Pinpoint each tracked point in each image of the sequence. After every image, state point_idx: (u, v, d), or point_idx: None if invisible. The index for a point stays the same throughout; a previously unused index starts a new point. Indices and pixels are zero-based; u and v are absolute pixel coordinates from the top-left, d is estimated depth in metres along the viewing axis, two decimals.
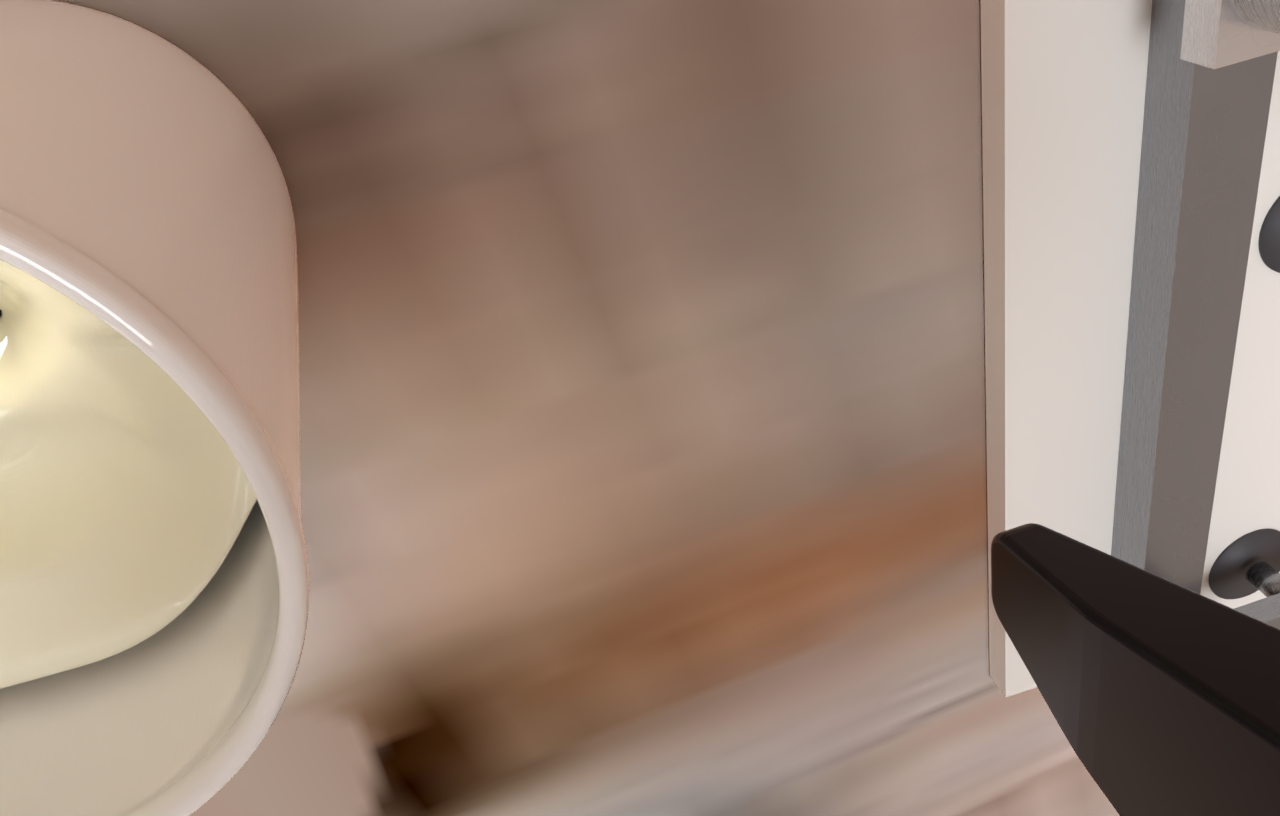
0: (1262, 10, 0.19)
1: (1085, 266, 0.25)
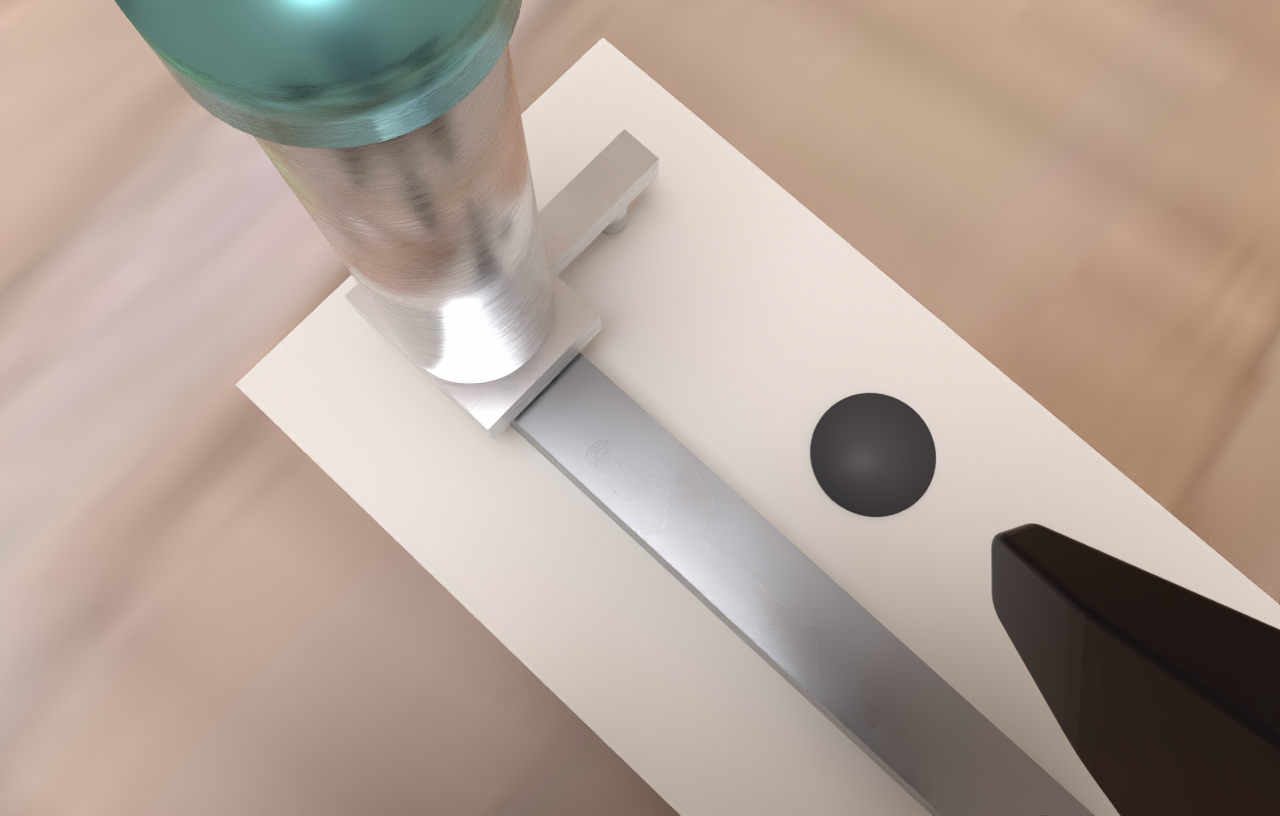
0: (445, 369, 0.19)
1: (660, 648, 0.21)
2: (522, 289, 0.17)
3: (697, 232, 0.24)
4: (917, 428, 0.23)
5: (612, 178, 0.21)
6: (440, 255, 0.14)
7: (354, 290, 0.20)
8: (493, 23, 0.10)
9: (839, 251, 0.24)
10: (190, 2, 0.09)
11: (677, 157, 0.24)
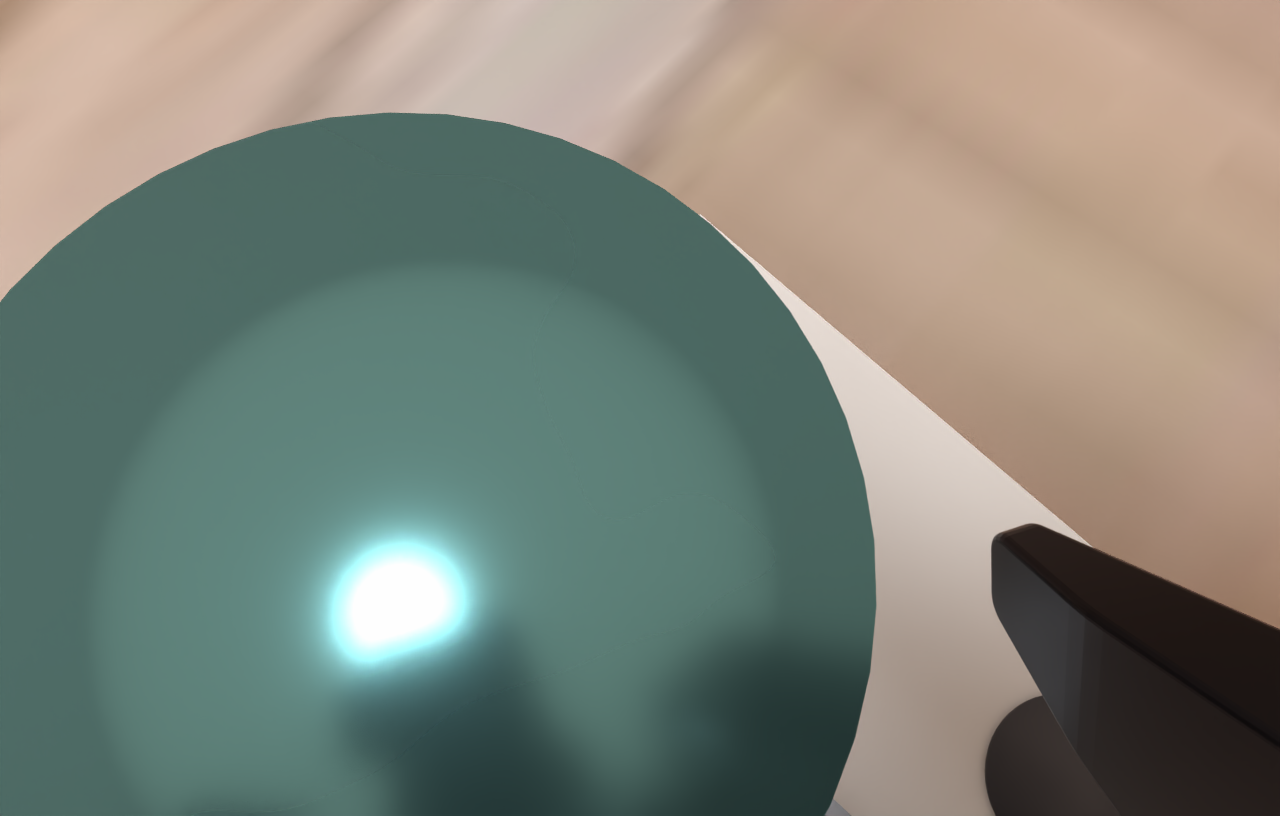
0: None
1: None
2: None
3: None
4: None
5: None
6: None
7: None
8: None
9: (1011, 498, 0.18)
10: None
11: None
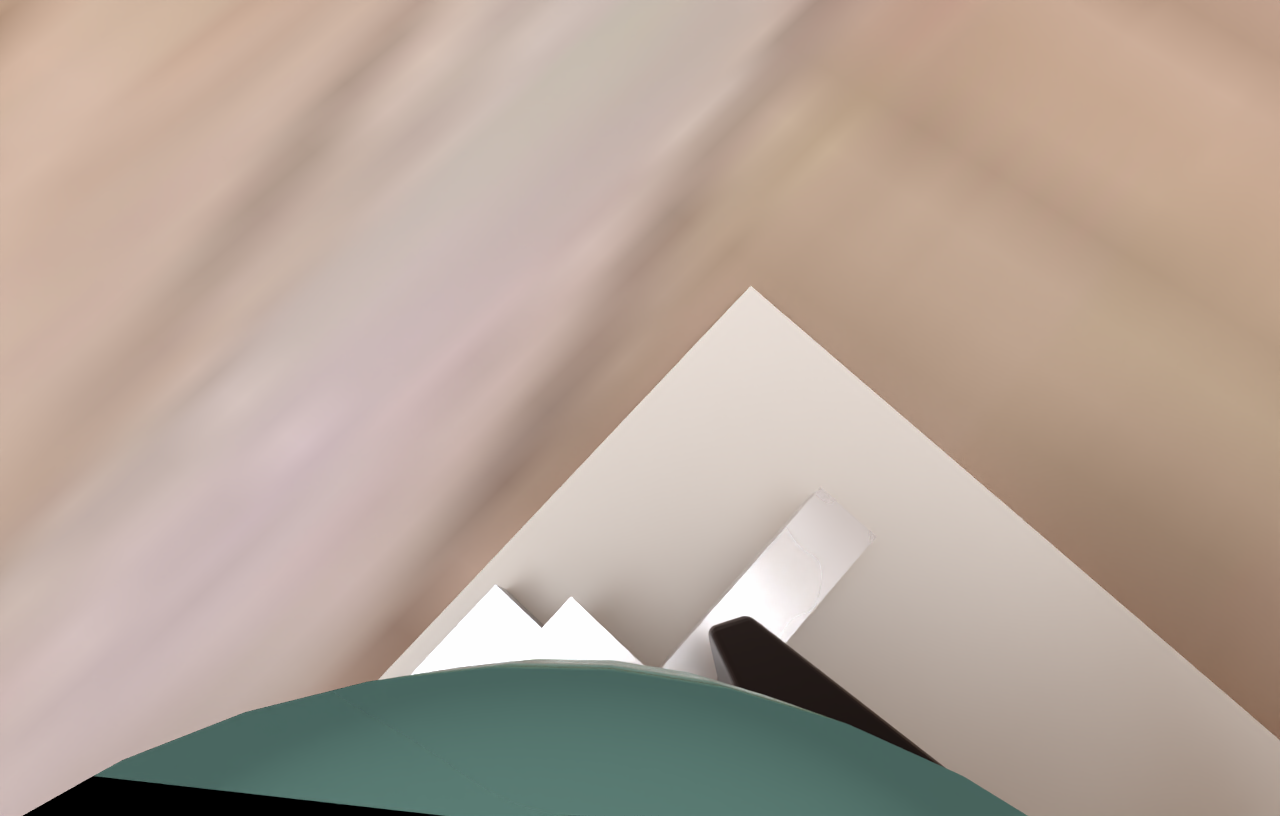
0: None
1: None
2: None
3: (899, 587, 0.16)
4: None
5: (805, 570, 0.14)
6: None
7: None
8: None
9: (1107, 615, 0.16)
10: None
11: (865, 469, 0.17)
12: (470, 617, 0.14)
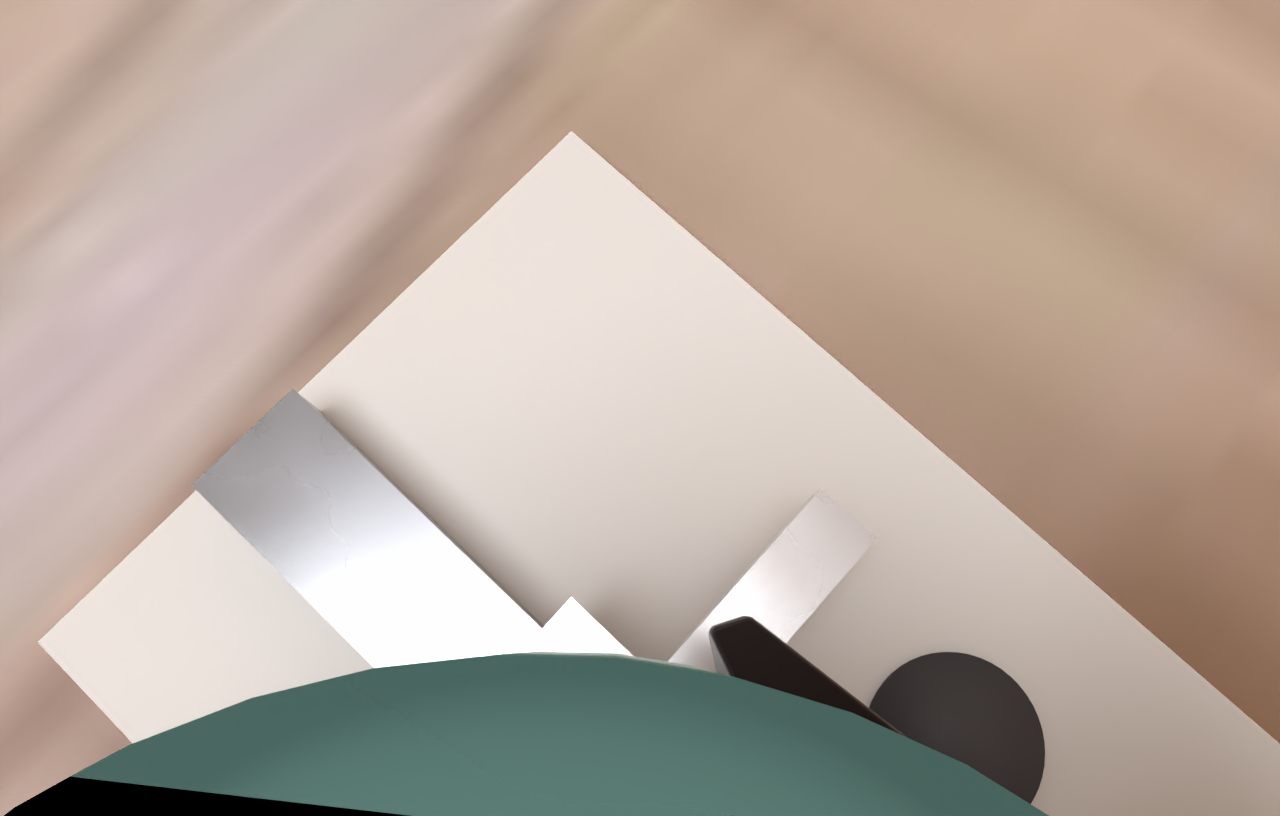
0: None
1: None
2: None
3: (702, 412, 0.17)
4: (1017, 705, 0.16)
5: (806, 571, 0.14)
6: None
7: None
8: None
9: (902, 439, 0.17)
10: None
11: (674, 303, 0.17)
12: (267, 419, 0.15)
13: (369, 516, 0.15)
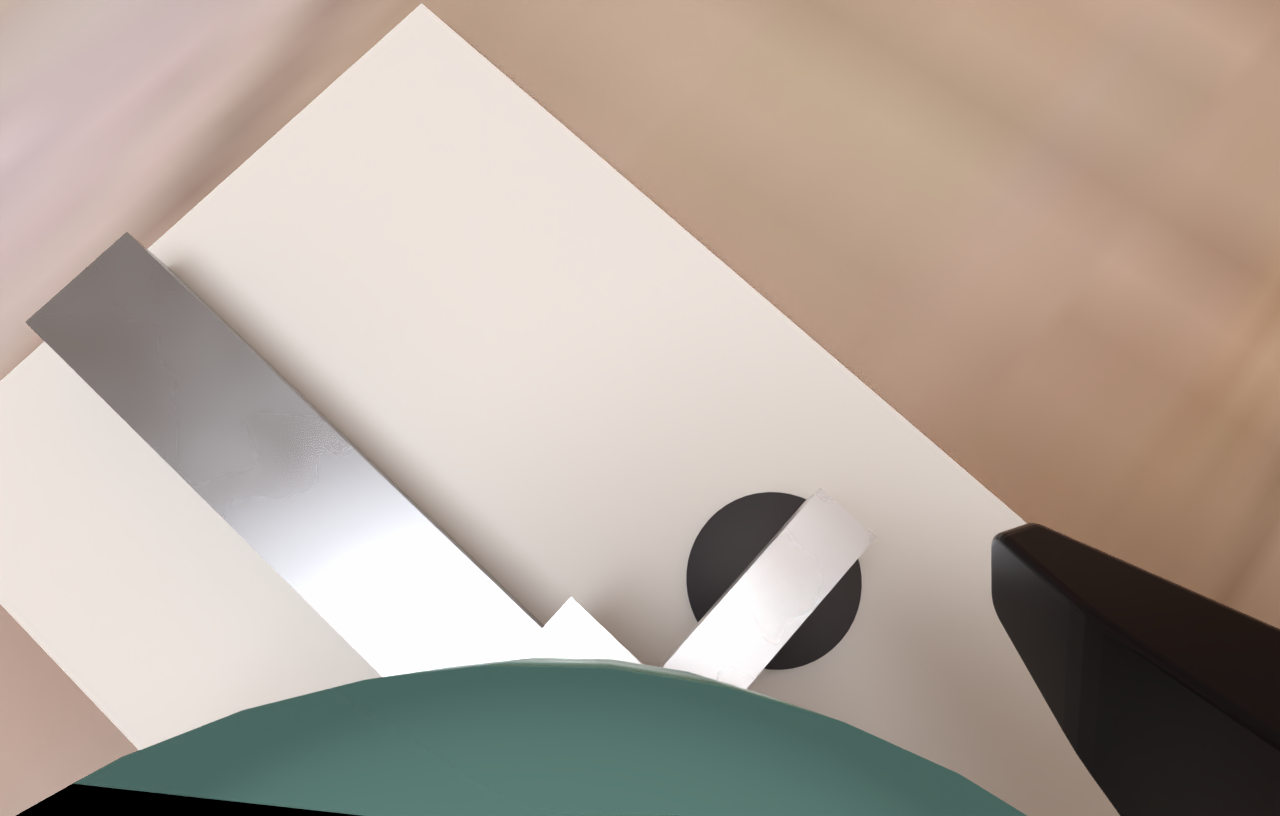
0: None
1: None
2: None
3: (540, 268, 0.17)
4: None
5: (805, 571, 0.14)
6: None
7: None
8: None
9: (734, 293, 0.17)
10: None
11: (516, 165, 0.18)
12: (101, 260, 0.16)
13: (196, 351, 0.15)
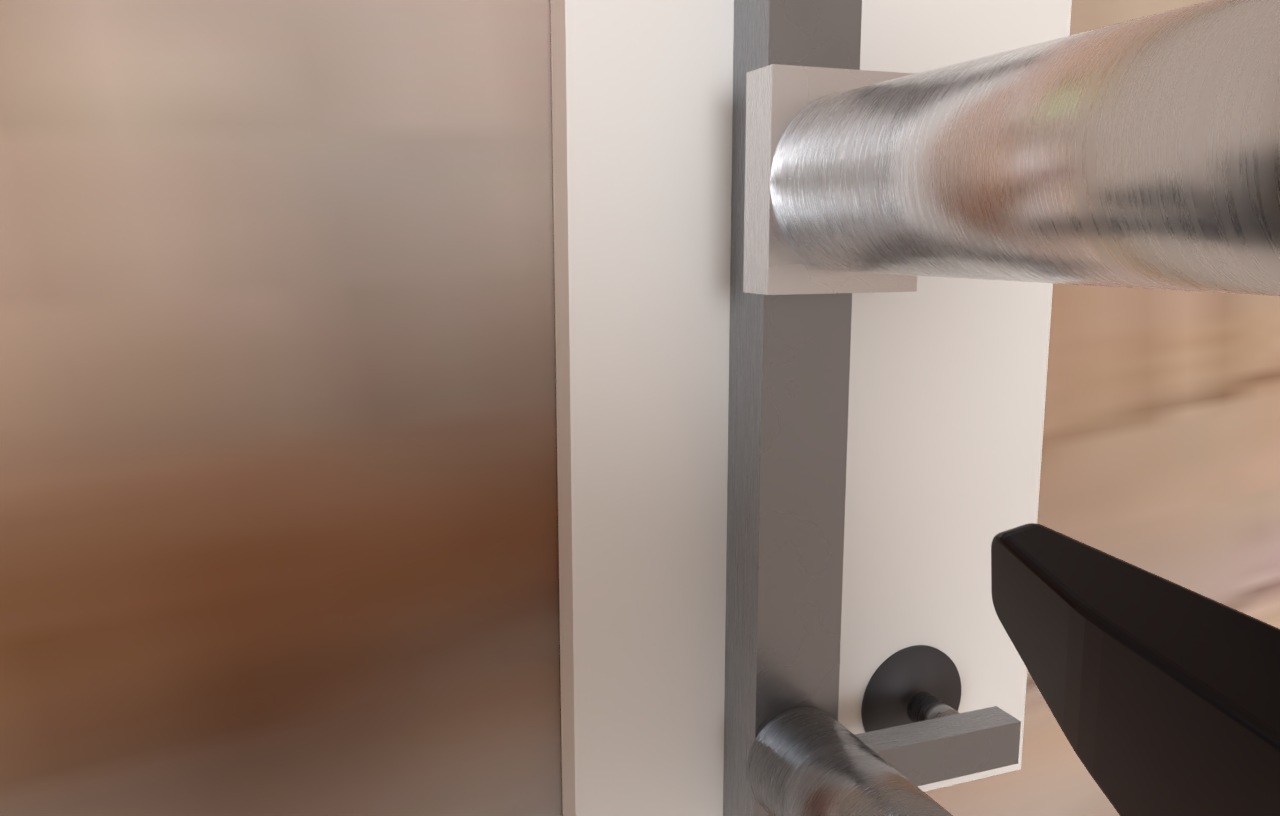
0: (802, 226, 0.17)
1: (672, 155, 0.20)
2: None
3: None
4: None
5: None
6: (1074, 271, 0.12)
7: (780, 66, 0.18)
8: None
9: (1059, 32, 0.23)
10: None
11: None
12: None
13: None
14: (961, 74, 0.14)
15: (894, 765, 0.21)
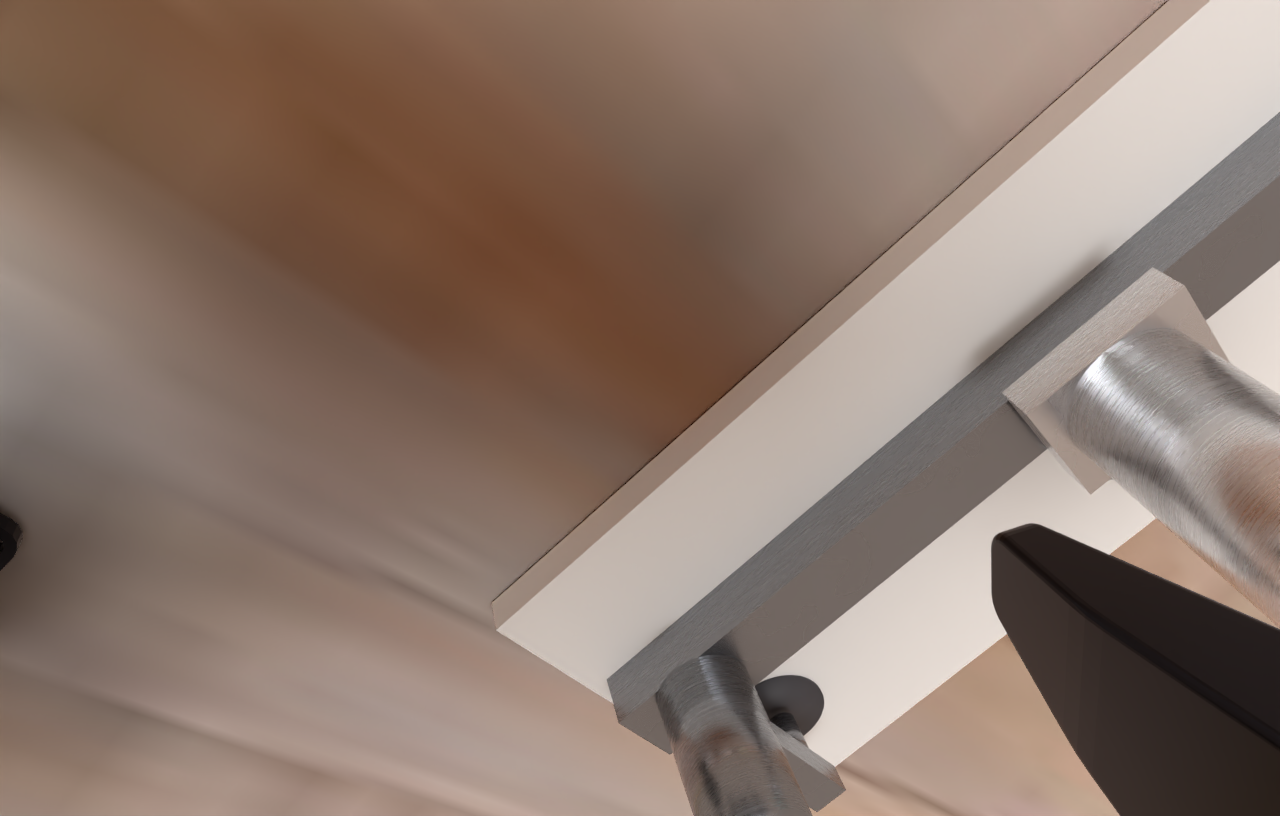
0: (1101, 402, 0.20)
1: (1037, 258, 0.23)
2: (1188, 546, 0.19)
3: None
4: None
5: None
6: None
7: (1185, 290, 0.21)
8: None
9: None
10: None
11: None
12: None
13: None
14: None
15: None
